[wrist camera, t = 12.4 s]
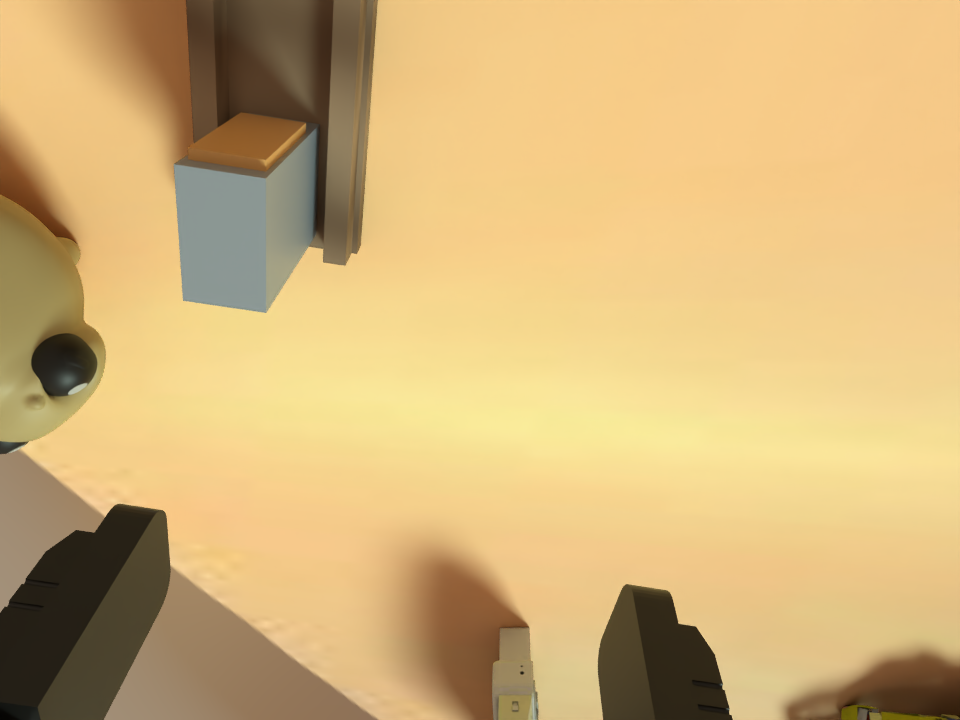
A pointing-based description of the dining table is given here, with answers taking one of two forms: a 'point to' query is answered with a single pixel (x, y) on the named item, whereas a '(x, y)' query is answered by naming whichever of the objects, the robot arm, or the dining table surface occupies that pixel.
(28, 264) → the toy pig
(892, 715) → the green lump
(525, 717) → the grey rectangular slab
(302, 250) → the grey rectangular block
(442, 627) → the dining table surface
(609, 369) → the dining table surface
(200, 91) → the rail
